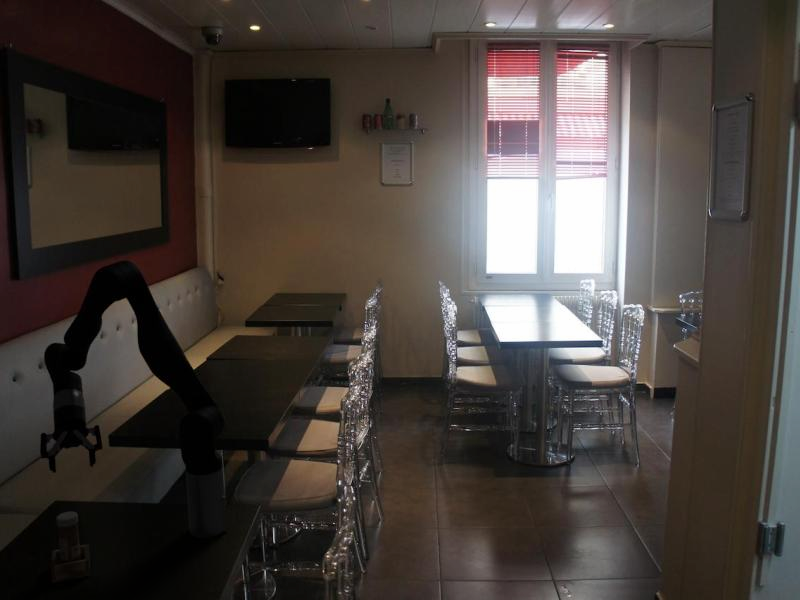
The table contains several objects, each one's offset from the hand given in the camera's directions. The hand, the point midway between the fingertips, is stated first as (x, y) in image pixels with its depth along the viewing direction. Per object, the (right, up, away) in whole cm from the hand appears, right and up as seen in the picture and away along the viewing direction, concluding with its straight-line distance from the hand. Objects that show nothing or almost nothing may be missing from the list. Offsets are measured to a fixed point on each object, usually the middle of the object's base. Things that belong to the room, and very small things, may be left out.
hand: (73, 468), depth 186 cm
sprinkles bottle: (+4, -22, -9) cm, 24 cm away
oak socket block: (+4, -22, -9) cm, 24 cm away
